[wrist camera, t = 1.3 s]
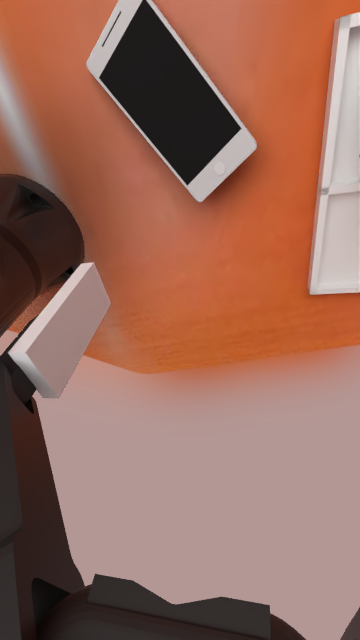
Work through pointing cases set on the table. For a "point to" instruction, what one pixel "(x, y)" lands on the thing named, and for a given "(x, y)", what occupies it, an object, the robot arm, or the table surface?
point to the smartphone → (169, 97)
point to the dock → (339, 171)
